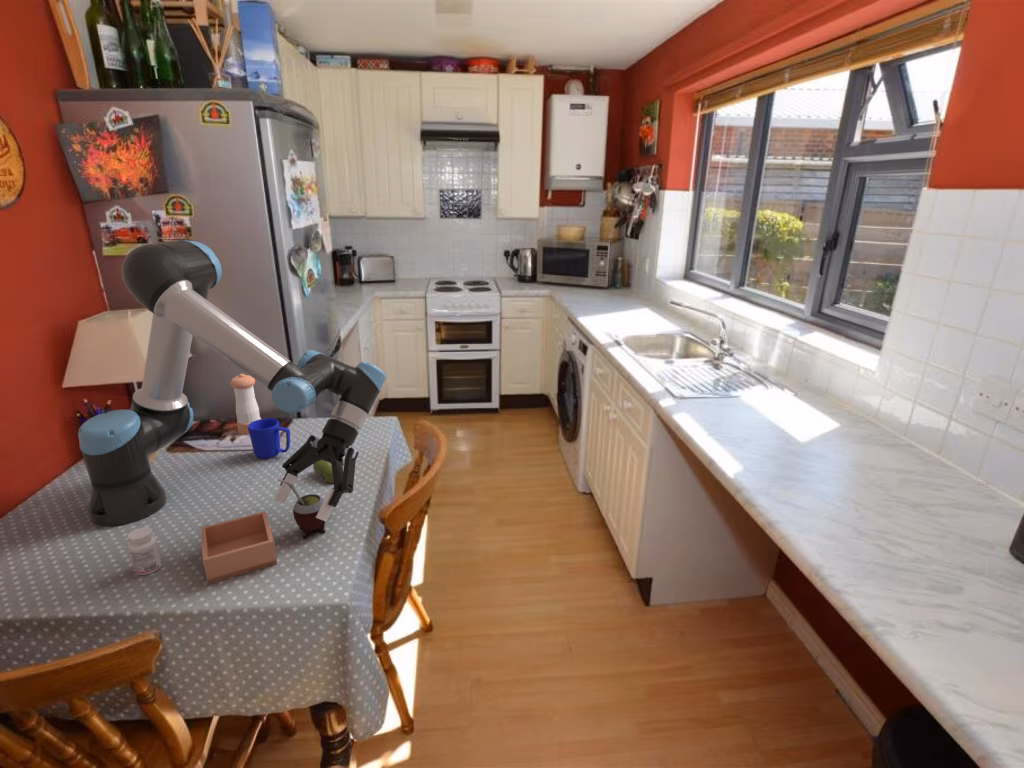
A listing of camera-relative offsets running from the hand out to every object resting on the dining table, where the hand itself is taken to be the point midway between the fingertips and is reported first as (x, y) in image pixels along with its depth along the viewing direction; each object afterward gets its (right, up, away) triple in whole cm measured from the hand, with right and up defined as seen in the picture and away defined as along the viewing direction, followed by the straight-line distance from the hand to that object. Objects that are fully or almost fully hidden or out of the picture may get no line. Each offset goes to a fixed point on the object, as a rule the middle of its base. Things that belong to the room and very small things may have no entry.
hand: (299, 510), depth 116 cm
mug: (-23, +7, +39) cm, 46 cm away
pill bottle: (-27, -10, -8) cm, 30 cm away
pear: (-3, +2, +28) cm, 28 cm away
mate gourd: (+1, -6, +4) cm, 7 cm away
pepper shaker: (-38, +13, +56) cm, 69 cm away
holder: (-11, -9, -5) cm, 14 cm away
